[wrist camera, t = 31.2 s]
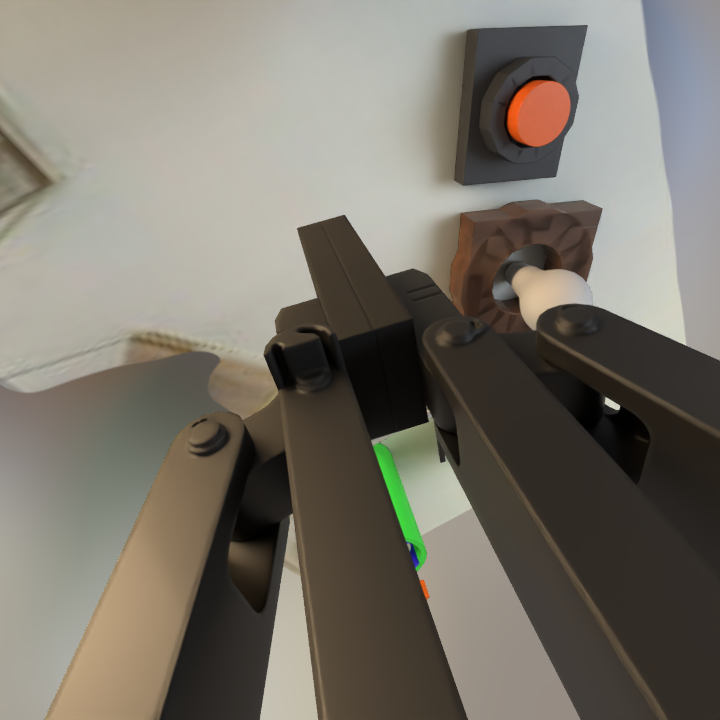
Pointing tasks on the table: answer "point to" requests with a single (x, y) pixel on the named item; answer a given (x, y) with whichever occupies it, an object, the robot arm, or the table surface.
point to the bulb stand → (508, 234)
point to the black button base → (495, 91)
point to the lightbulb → (545, 289)
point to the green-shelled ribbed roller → (402, 509)
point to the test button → (538, 112)
